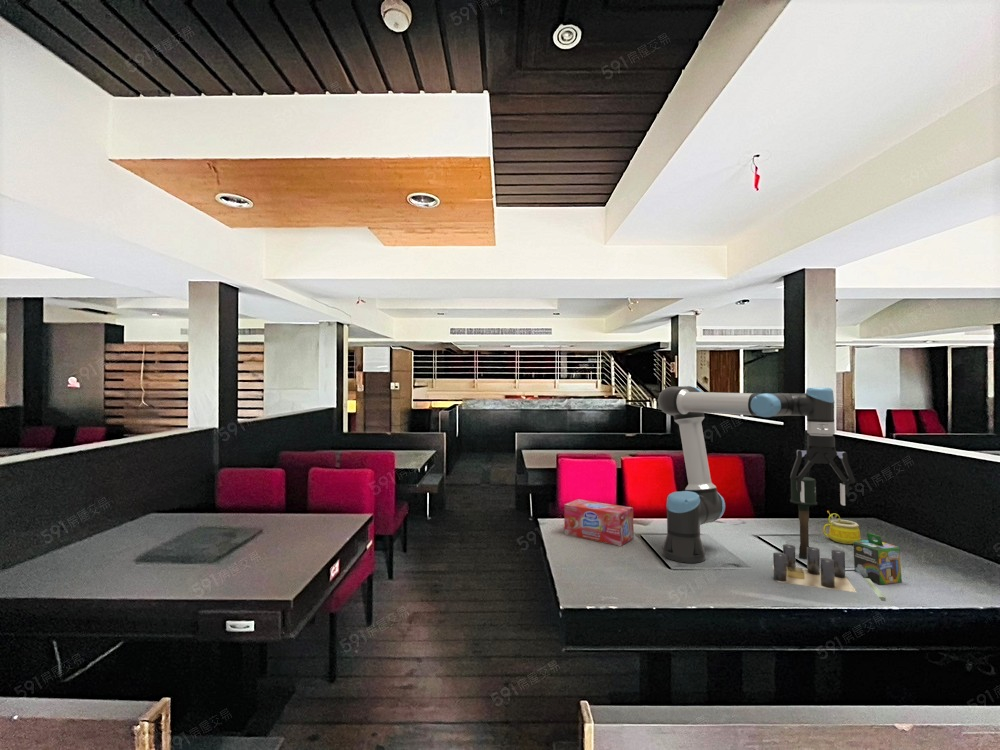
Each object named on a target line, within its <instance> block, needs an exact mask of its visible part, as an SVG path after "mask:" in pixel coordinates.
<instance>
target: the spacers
mask: <svg viewBox="0 0 1000 750" xmlns="http://www.w3.org/2000/svg"><path fill="white" fill-rule="evenodd" d="M830 551H831V558H829V557H821V558H820V556H821V555H820V554H821V553H820V548H818V547H815V546H814V547H813V546H809V547H807V559H806V568H807V569H806V570H807V572H808V573H810V574H814V575H819V574H820V571H821V585H822V586H824V587H827V588H835V577H838V578H845V576H846V553H845V551H843V550H840V549H831V550H830ZM772 558H773V564H772V565H774V570H773V580H775V581H782V582H785V581H787V576H786V571H787V567H795V568H797V567H796V563H797V561H796V546H795V545H792V544H783V545H782V552H773V555H772ZM782 582H781V583H782ZM827 588H826V589H827Z"/></svg>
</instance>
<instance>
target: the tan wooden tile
mask: <svg viewBox="0 0 1000 750" xmlns="http://www.w3.org/2000/svg"><path fill="white" fill-rule="evenodd" d="M803 569H804V568H803V567H802V568H801V567H796V568H795V567H787V575H788V577H791V578H799V579H805V576H804V571H803Z"/></svg>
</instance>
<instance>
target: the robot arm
mask: <svg viewBox="0 0 1000 750" xmlns="http://www.w3.org/2000/svg"><path fill="white" fill-rule="evenodd" d="M834 395H835V394H834V390H833V389H832V388H831V387H807V388H806V390H805V392H804V393H788V392H787V393H784V392H778V393H754V392H753V393H752V392H748V393H747V392H711V391H710V392H708V391H705V392H704V391H703V390H701V389H700V388H698V387H695V386H690V385H687V386H686V385H685V386H682V385H681V386H676V385H675V386H669V387H665V388H664V389H663V390H661V392H660V393H659V395H658V399H657V405H658V407H659V408H660V410H661V412H663V413H664V414H666V415H669V416H673V420H674V422H675V423H676V424H677V425H678V426H679V427H678V428H679V433H680V434H679V435H680V439H681V444H682V452H683V458H684V463H685V464H684V465H685V470H686V477H687V483H688V484H687V485H686V487H685V489H684V490H682V491H678V490H677V491H673V492H671V493H669V494H668V495H667V498H666V504H665V505H666V528H667V529H666V532H667V534H666V536H665V539H664V544H663V546H662V556H663V555H664V556H665V557H664V556H663V557H664V558H666V557H667V558H666V559H668V558H669V560H670V559H671V560H670V561H674V560H675V561H674V562H678V563H684V562H685V563H686V564H696V563H702V562H704V561H706V559H707V558H706V557H707V556H706V550H705V547H704V544H703V541H702V539H701V525H705V524H709V523H713V522H716V521H718V520H719V519H721V518H722V516H724V513H725V511H726V502H725V499H724V497H723V496H722V495H721V494H720V493H719V492H718V489H717V486H716V485H715V484H714V483H713V482H712V478H711V472H710V466H709V460H708V455H707V448H706V447H707V446H706V443H705V436H704V432H703V431H704V430H703V429H704V428H703V425H702V422H703V420H704V419H705V418H706V417H705V414H720V415H736V416H737V415H739V416H756V417H762V418H772V417H783V416H793V417H795V416H797V417H800V416H802V417H806V425H807V426H806V433H807V436H806V437H807V448H806V450H800V449H797V450H796V451H795V453H796V458H795V461H794V463H793V466H792V469H791V472H790V476H789V478H790V480H791V479H793V480H796V487H797V491H799V492H800V500H801V502H803V503H805V500H804V482H803V481H802V479H803V478H804V477H806V475H807V474H808V473H809V471H810V470H811V468H812V467H813V466H814V465H815V464H816V465H817V464H819V465H820V464H824V465H830V466H831V468H832V469H833V471H834V473H835V474H837V477H838V478H839V479H840V481H841V482H842V483H839V492H840V493H839V497H840V498H839V499H840V505H841V506H846V496H849V493H850V489H849V488H850V486H849V485H851V484H855V483H856V482H857V481H856V478H855V476H854V474H853V470H852V469H851V466H850V463H849V460H848V453H847V452H846V451H837V450H836V437H835V436H834V435H835V434H836V433H835V432H836V431H835V397H834ZM805 455H807V456H808V457H809V459H808V460H807V462H806V463H805V464H804V467H803V468H802V469H801V470H800V472H799V473H798V471H799V468H800V466H801V462H802V460H803V459H802V458H804V457H805ZM837 456H838V458H839V459H840V460H841V463H842V466H843V468H844V470H845V474H846V475H847V477H845V475H844V474H843V472H842V471H841V469H840V468H839V467H838V465H837V463H836V462H835V461H834V459H835V458H836V457H837ZM797 474H798V475H797Z"/></svg>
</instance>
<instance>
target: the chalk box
mask: <svg viewBox="0 0 1000 750" xmlns="http://www.w3.org/2000/svg"><path fill="white" fill-rule="evenodd" d="M866 536H867V537H866V538H867V539H864V540H863V539H862V540H861V541H856V542H853V544H852V547H853V562H854V566H853V567H854V572H855V573H858V574H859V575H860V576H861V577H862V578H863V579H864V578H869V579H870V580H871V581H872V582H873V583H874V584H875V585H879V586H881V585H883V586H884V585H888V584H889V585H890V584H897V583H902V582H903V581H902V566H901V565H902V564H901V552H900V551H901V548H900V546H897V545H894V544H891V543H888V542H884V541H882V537H881V535H878V534H874V533H871V532H866ZM873 538H874V539H873Z"/></svg>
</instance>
